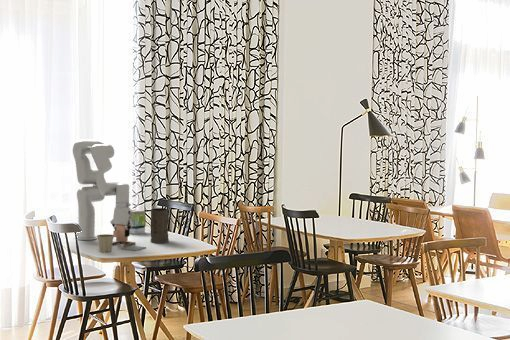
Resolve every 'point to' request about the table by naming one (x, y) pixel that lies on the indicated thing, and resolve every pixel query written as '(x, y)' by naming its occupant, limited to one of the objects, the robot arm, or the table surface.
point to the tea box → (138, 221)
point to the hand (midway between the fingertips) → (121, 235)
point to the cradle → (126, 243)
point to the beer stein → (159, 225)
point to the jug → (120, 233)
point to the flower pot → (105, 242)
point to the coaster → (133, 248)
